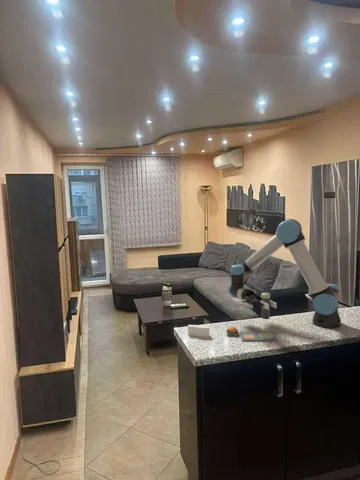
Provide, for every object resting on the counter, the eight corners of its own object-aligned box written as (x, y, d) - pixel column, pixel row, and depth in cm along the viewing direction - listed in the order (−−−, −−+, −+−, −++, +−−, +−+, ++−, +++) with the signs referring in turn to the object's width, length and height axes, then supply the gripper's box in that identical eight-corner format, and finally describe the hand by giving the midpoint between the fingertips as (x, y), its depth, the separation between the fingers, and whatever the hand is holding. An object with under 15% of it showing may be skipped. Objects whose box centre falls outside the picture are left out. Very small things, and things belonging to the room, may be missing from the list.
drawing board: (273, 332, 191) (273, 330, 191) (278, 341, 179) (278, 339, 179) (239, 332, 192) (239, 330, 192) (242, 341, 180) (242, 339, 180)
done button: (235, 331, 192) (235, 326, 192) (236, 333, 188) (236, 329, 188) (228, 331, 192) (228, 326, 192) (229, 333, 188) (229, 329, 188)
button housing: (237, 331, 193) (237, 329, 193) (238, 336, 187) (238, 333, 187) (226, 332, 193) (226, 329, 193) (227, 336, 187) (227, 333, 187)
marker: (268, 316, 186) (268, 292, 185) (270, 319, 182) (270, 294, 181) (260, 316, 186) (260, 292, 185) (262, 319, 182) (262, 294, 181)
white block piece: (215, 336, 189) (215, 326, 188) (199, 342, 181) (199, 331, 181) (196, 329, 200) (196, 319, 199) (181, 334, 193) (180, 324, 192)
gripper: (259, 299, 204) (285, 311, 182) (233, 303, 197) (257, 315, 176) (259, 287, 203) (285, 296, 181) (233, 290, 196) (257, 301, 175)
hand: (272, 306), depth 178 cm, fingers closed on marker, 4 cm apart
